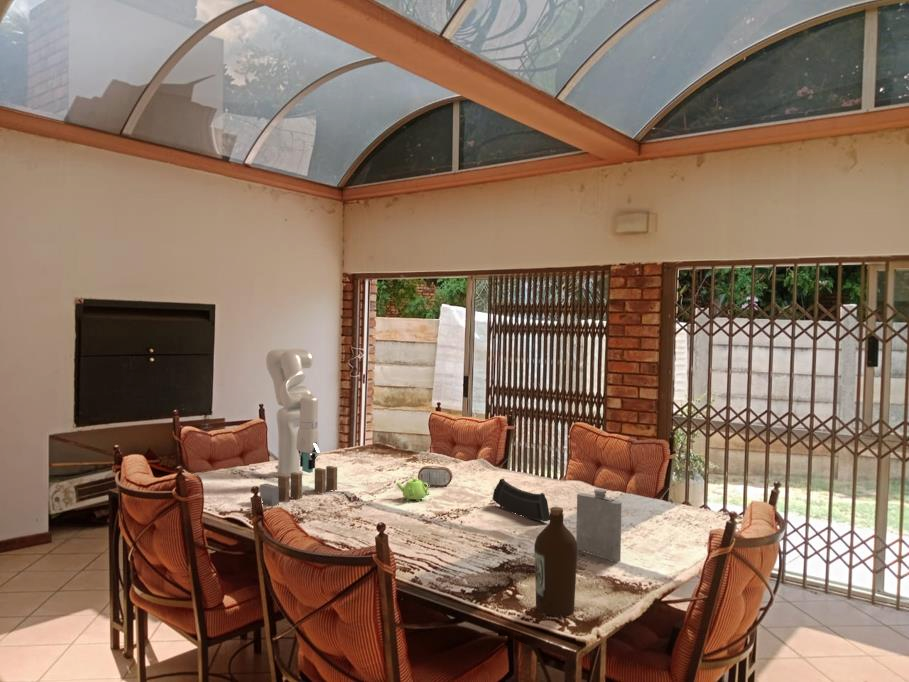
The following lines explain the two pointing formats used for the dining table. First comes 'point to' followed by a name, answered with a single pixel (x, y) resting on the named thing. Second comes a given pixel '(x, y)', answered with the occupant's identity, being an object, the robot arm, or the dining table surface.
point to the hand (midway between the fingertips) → (307, 466)
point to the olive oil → (555, 567)
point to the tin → (435, 475)
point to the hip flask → (599, 525)
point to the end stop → (269, 494)
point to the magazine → (521, 501)
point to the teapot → (414, 489)
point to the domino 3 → (306, 462)
